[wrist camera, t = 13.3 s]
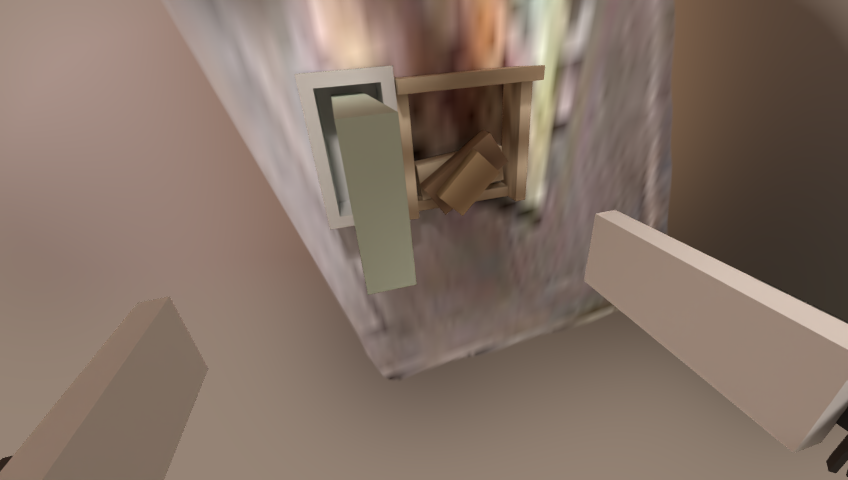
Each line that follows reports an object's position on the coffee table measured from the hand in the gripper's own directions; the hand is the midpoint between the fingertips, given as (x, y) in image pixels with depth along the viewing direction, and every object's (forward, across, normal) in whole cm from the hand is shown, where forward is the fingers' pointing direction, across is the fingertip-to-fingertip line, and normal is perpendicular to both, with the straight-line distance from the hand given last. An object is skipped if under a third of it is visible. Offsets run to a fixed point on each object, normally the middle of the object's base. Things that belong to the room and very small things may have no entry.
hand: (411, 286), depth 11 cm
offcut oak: (+25, +11, -6) cm, 28 cm away
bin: (+29, 0, -1) cm, 29 cm away
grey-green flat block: (+28, 0, -1) cm, 28 cm away
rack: (+29, +11, -2) cm, 31 cm away
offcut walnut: (+27, +11, -5) cm, 29 cm away
